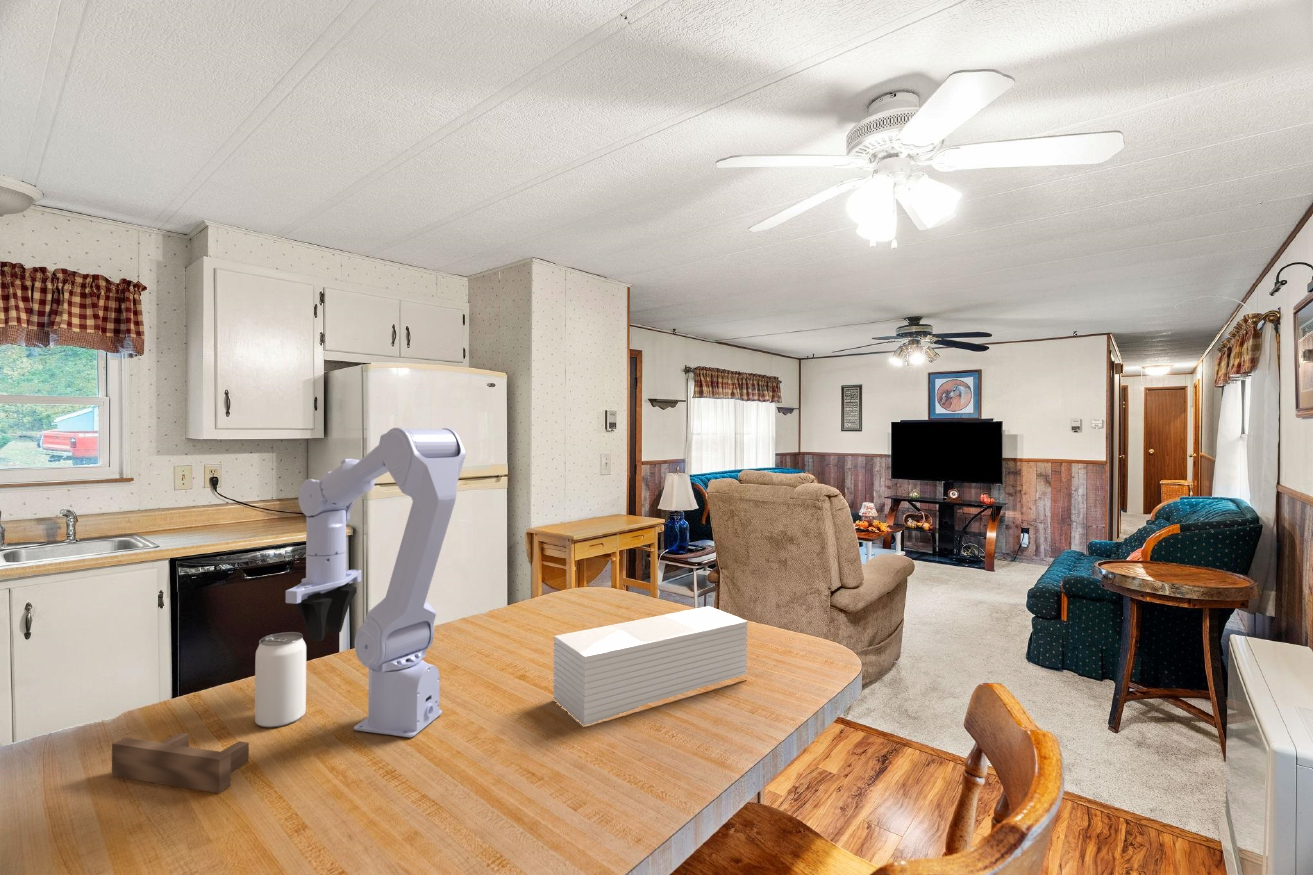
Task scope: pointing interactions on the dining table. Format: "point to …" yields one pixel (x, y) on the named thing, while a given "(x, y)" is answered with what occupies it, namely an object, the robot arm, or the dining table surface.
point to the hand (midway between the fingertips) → (325, 635)
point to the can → (280, 679)
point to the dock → (178, 762)
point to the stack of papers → (646, 661)
